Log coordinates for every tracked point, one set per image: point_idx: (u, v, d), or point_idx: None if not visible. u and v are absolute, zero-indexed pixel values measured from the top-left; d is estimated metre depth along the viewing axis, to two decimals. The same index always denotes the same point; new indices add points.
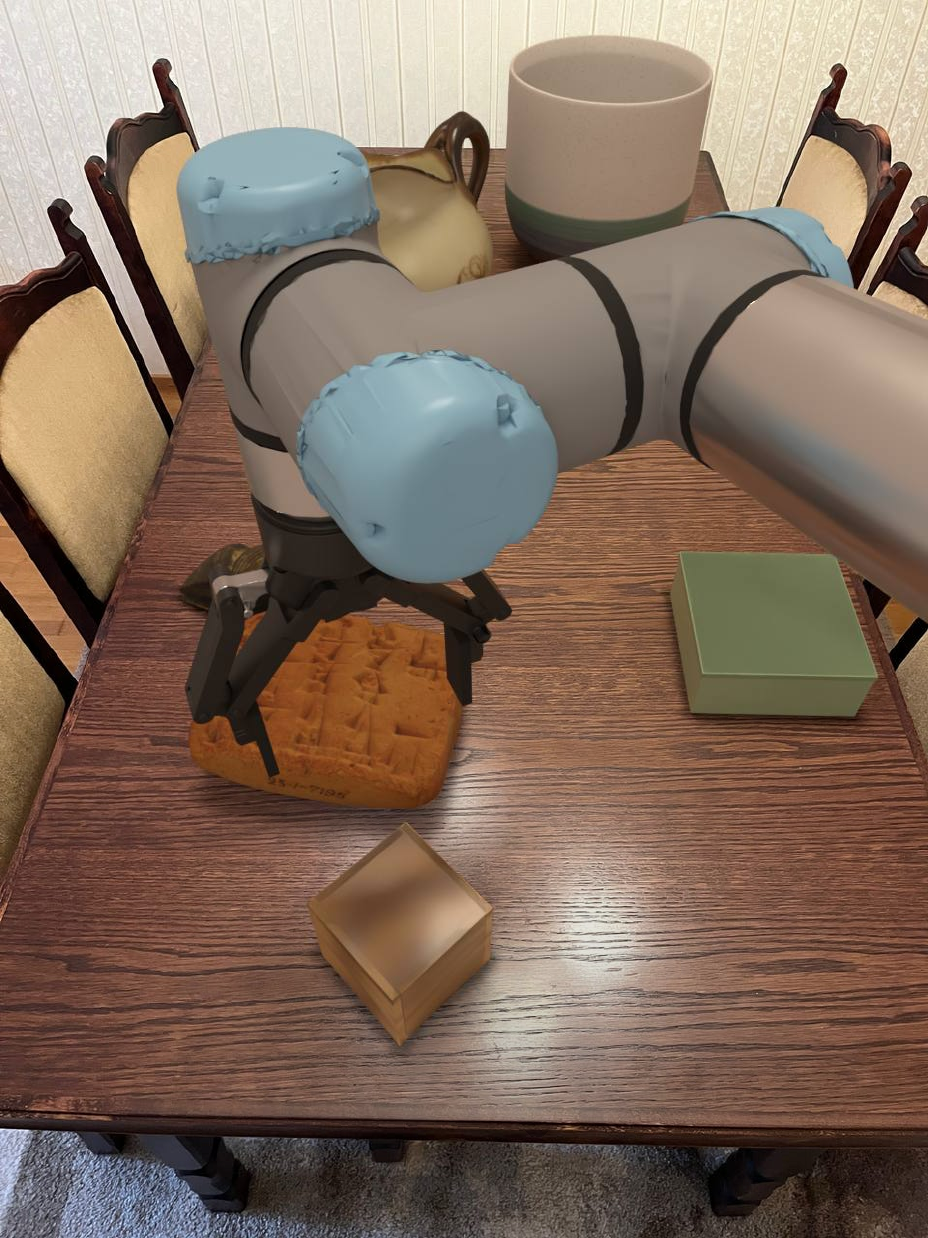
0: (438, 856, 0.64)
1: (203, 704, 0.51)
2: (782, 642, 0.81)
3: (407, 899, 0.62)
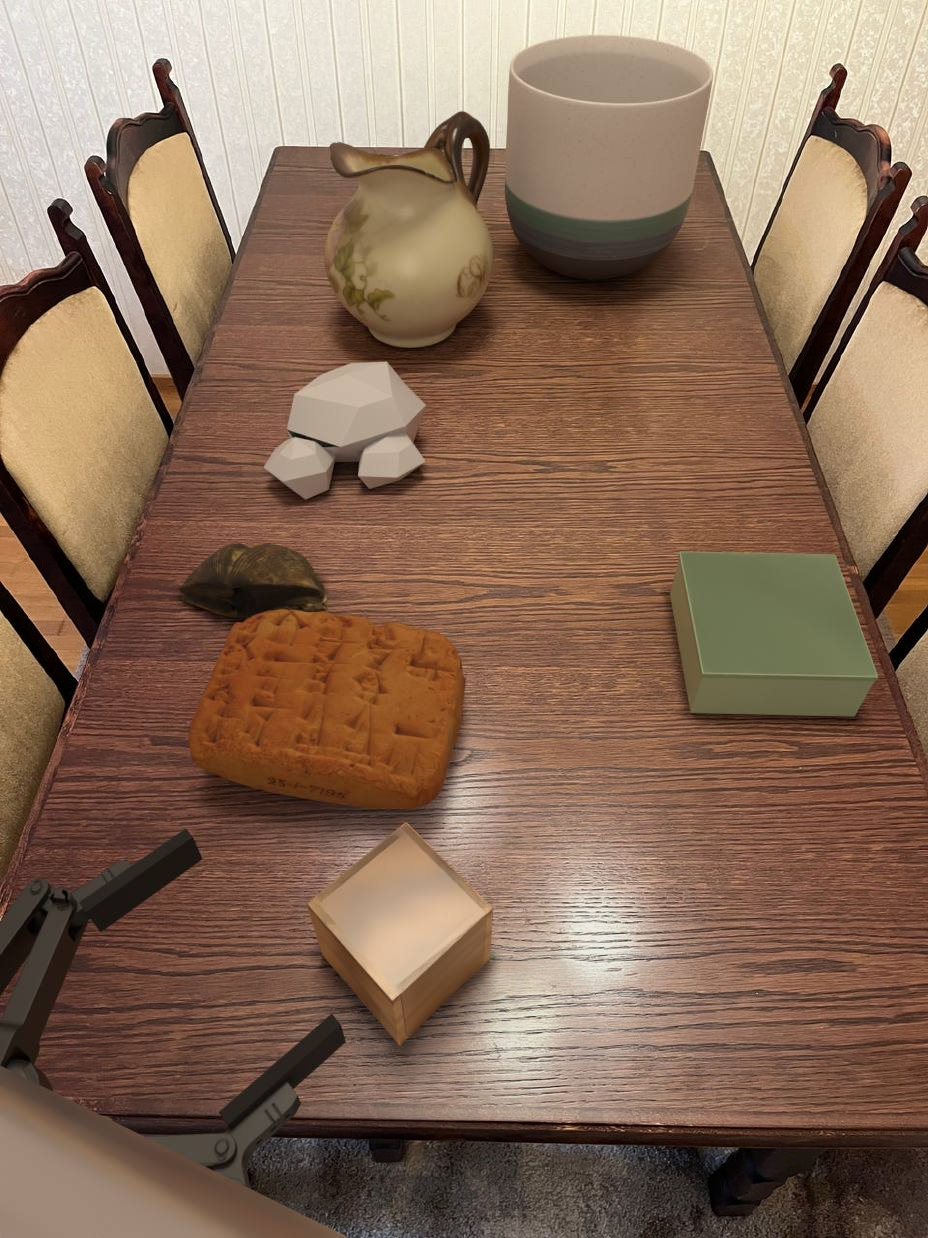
0: (438, 856, 0.64)
1: None
2: (782, 642, 0.81)
3: (407, 899, 0.62)
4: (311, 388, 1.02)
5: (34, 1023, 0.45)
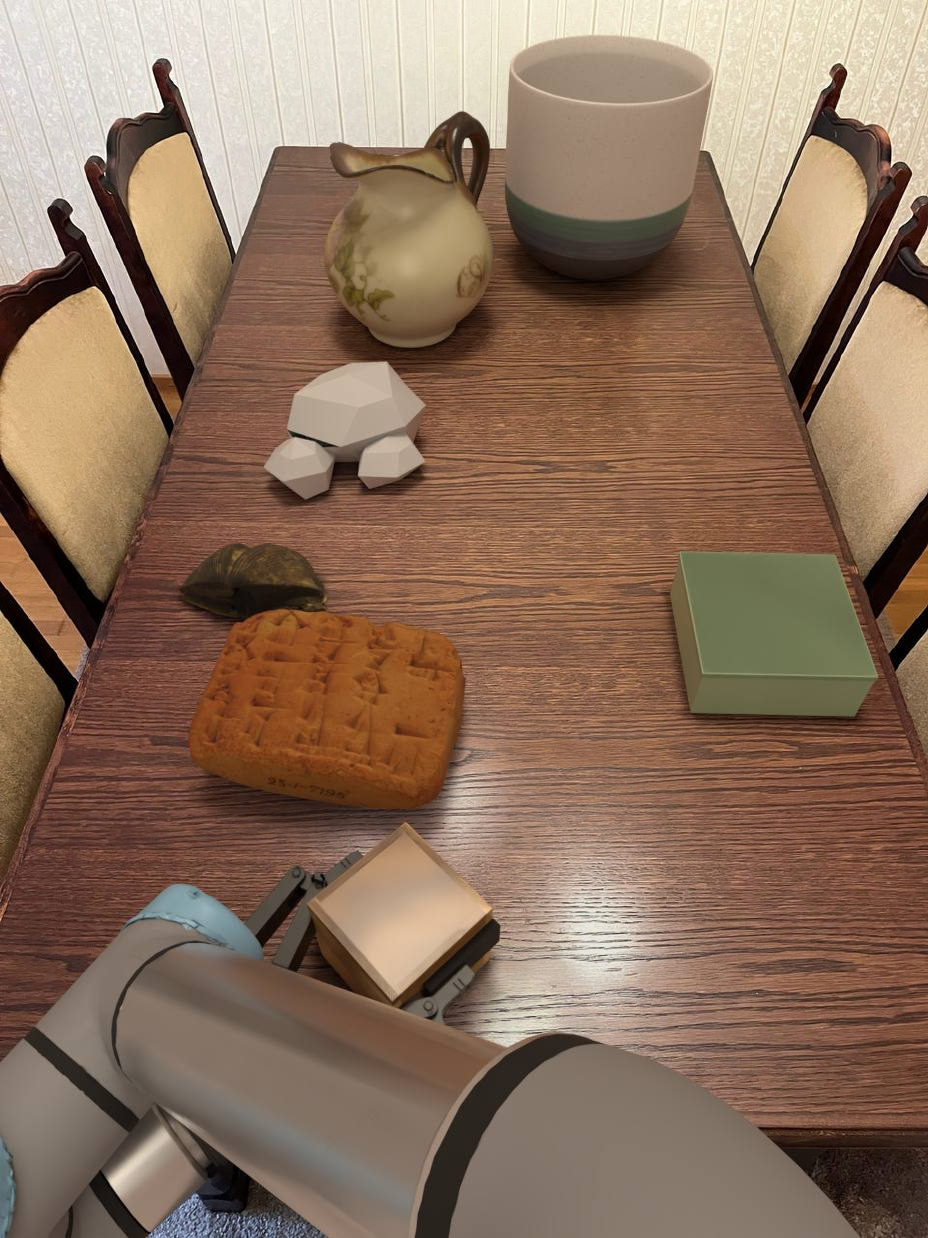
0: (438, 856, 0.64)
1: None
2: (782, 642, 0.81)
3: (407, 899, 0.62)
4: (311, 388, 1.02)
5: (292, 969, 0.61)
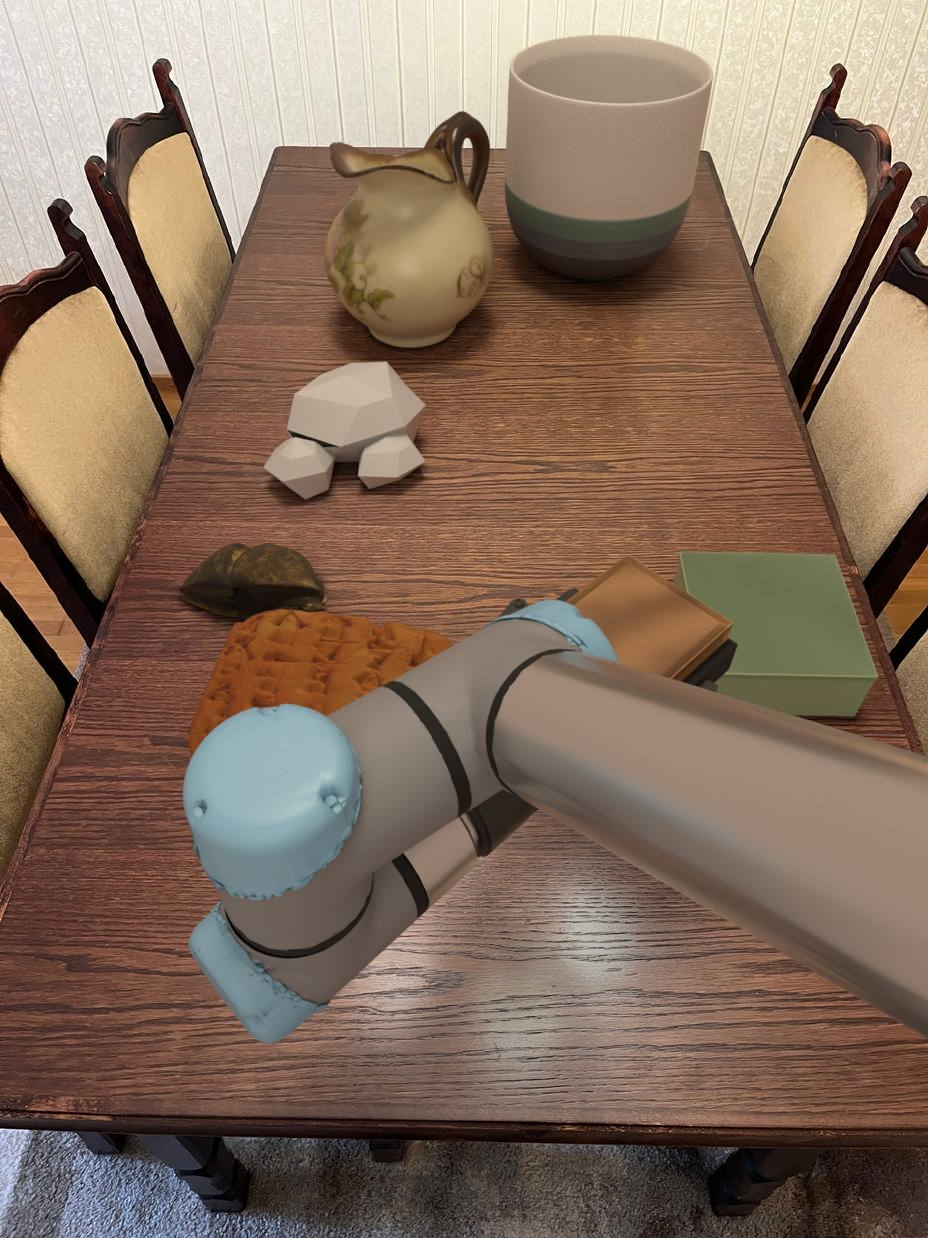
0: (667, 581, 0.62)
1: None
2: (782, 642, 0.81)
3: (644, 615, 0.60)
4: (311, 388, 1.02)
5: None
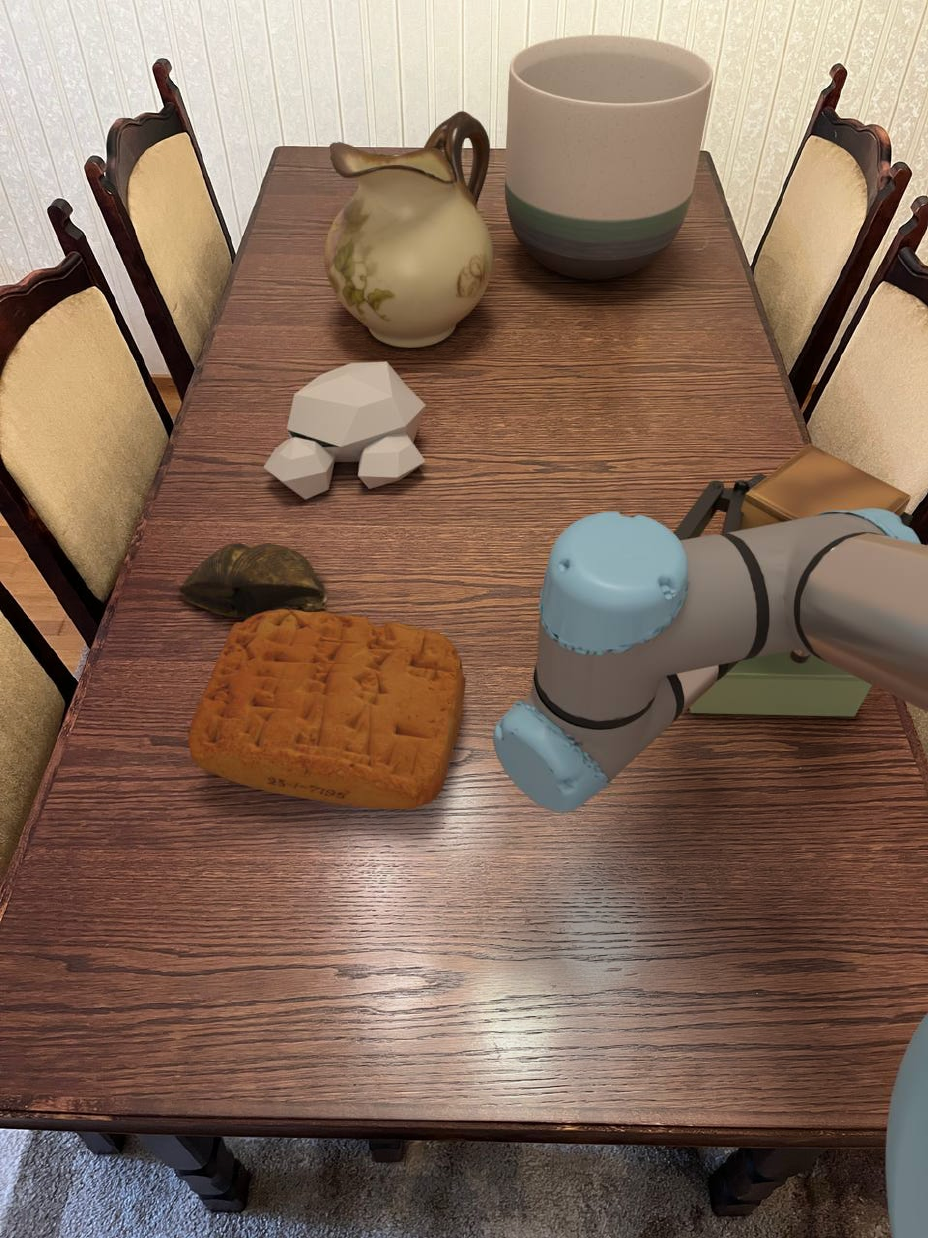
0: (848, 464, 0.72)
1: None
2: None
3: (833, 490, 0.70)
4: (311, 388, 1.02)
5: None
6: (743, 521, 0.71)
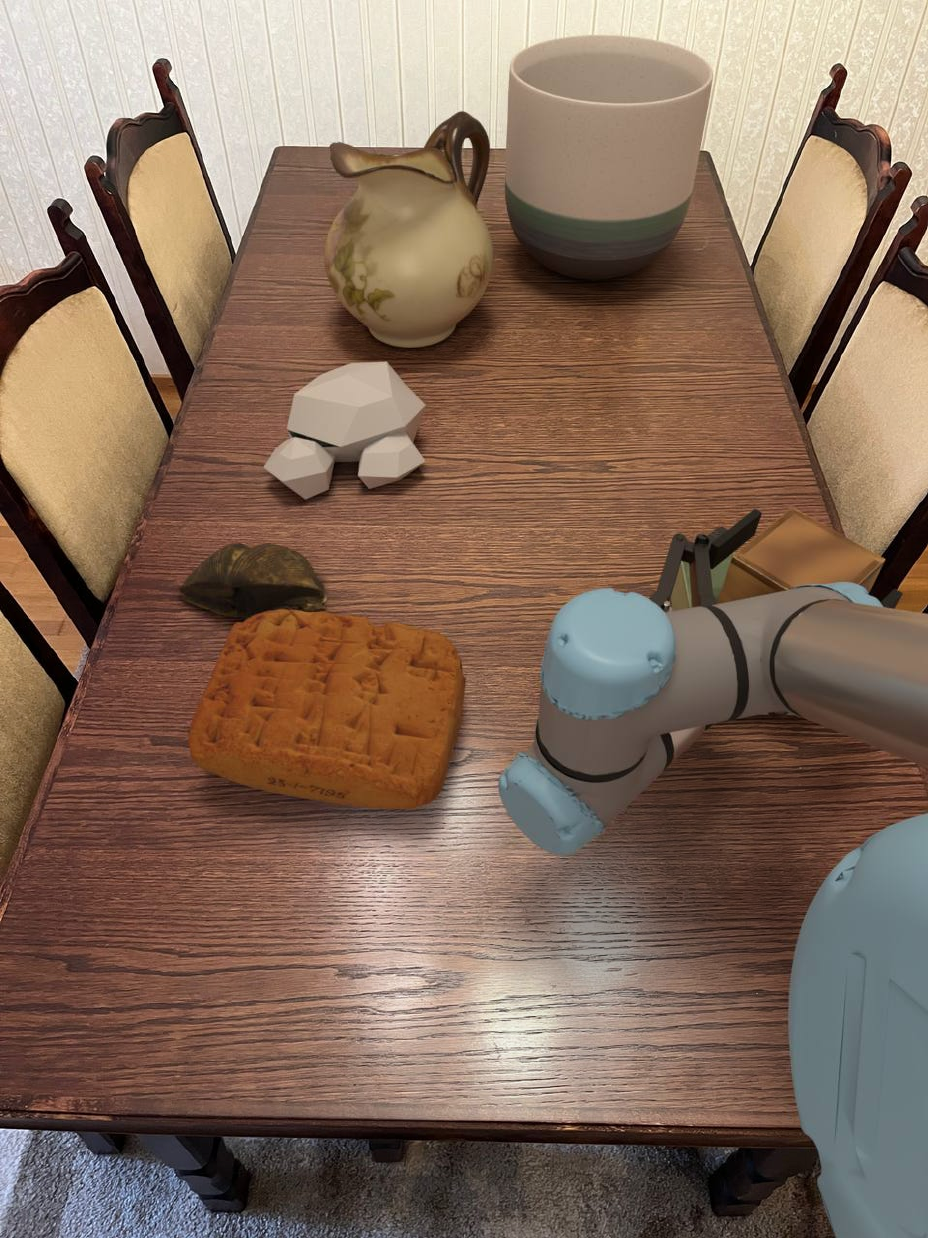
0: (828, 527, 0.77)
1: None
2: None
3: (813, 553, 0.75)
4: (311, 388, 1.02)
5: None
6: (730, 581, 0.77)
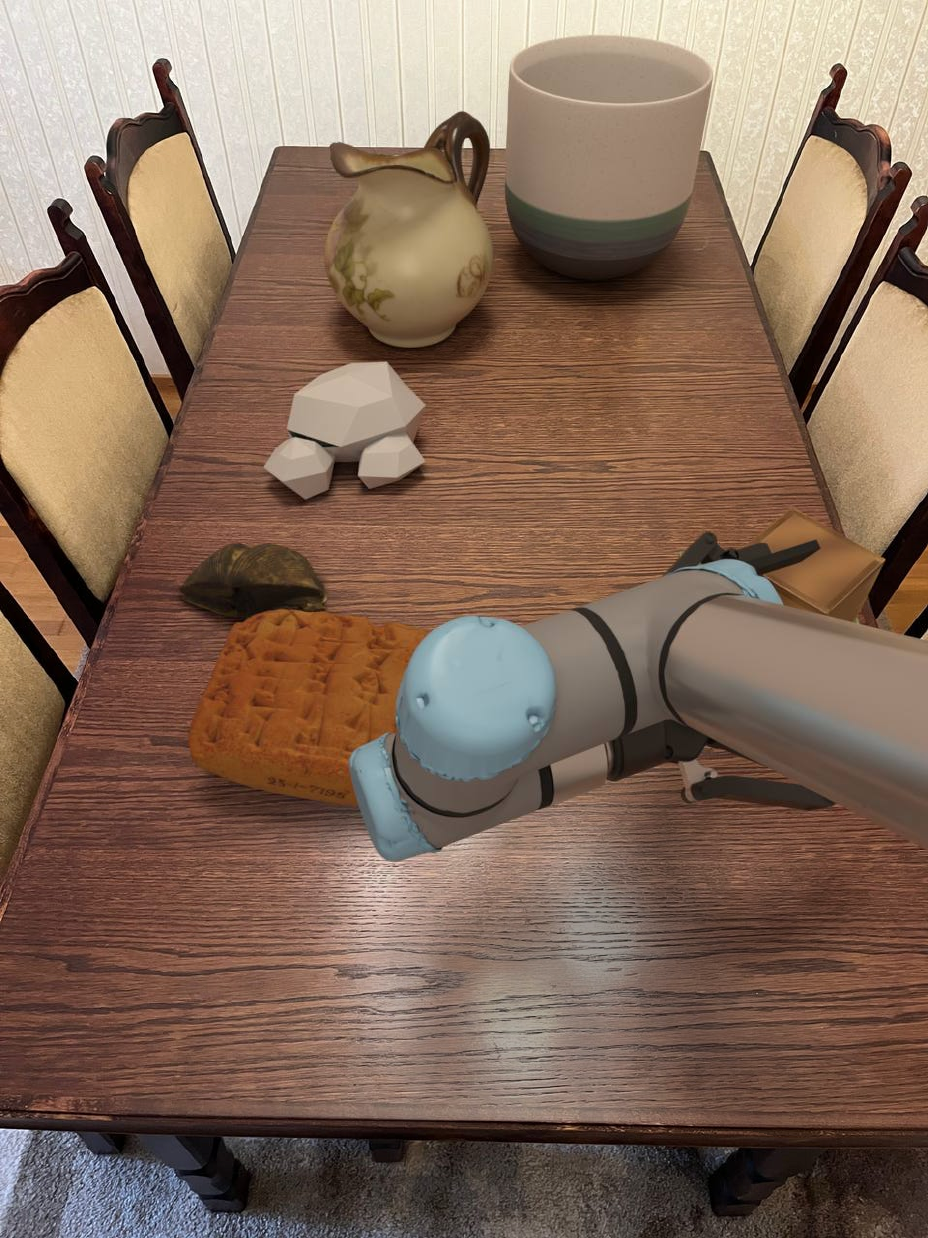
0: (828, 527, 0.77)
1: (812, 799, 0.59)
2: None
3: None
4: (311, 388, 1.02)
5: None
6: None
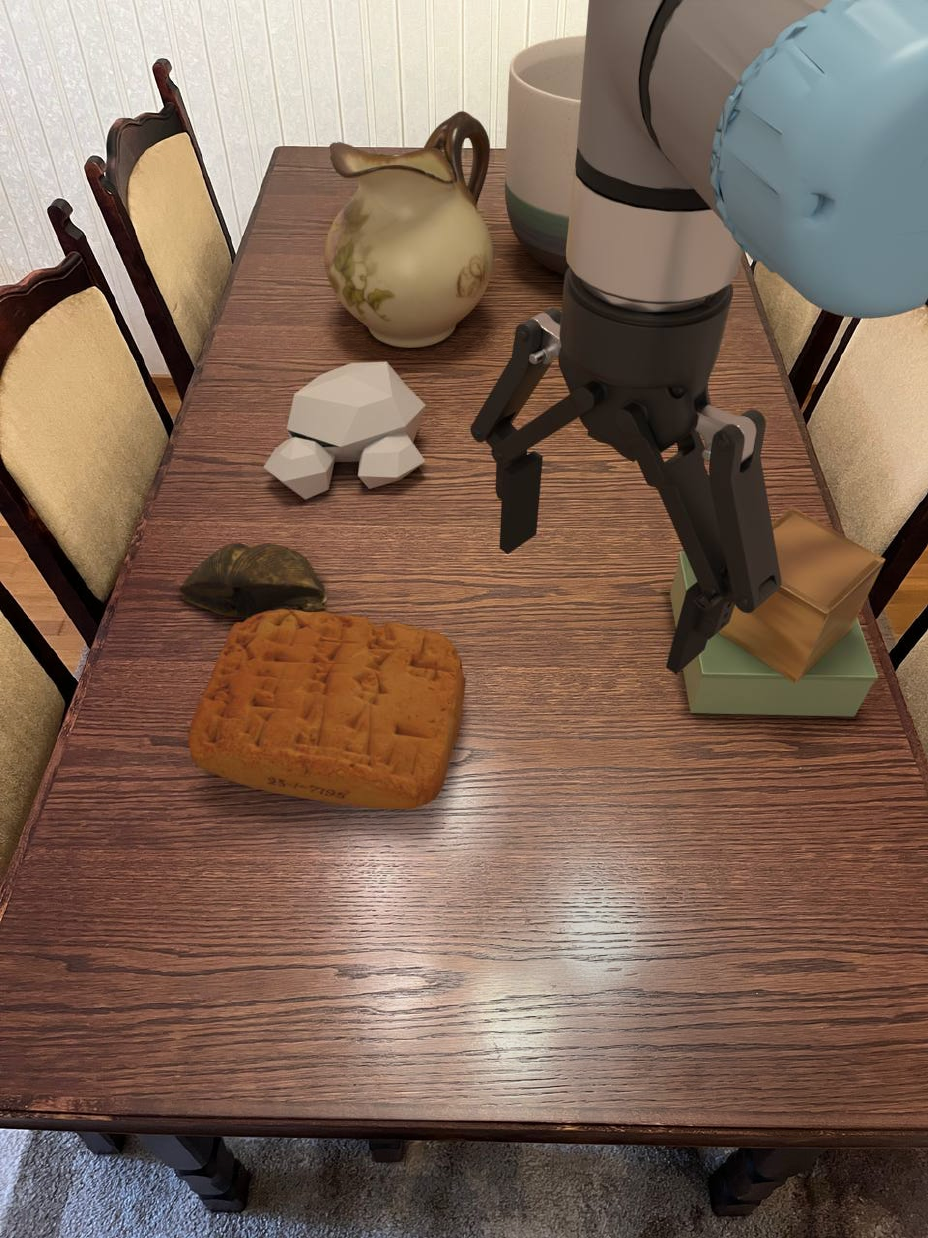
0: (828, 527, 0.77)
1: (480, 419, 0.53)
2: None
3: (813, 553, 0.75)
4: (311, 388, 1.02)
5: None
6: None
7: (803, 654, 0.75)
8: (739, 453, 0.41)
